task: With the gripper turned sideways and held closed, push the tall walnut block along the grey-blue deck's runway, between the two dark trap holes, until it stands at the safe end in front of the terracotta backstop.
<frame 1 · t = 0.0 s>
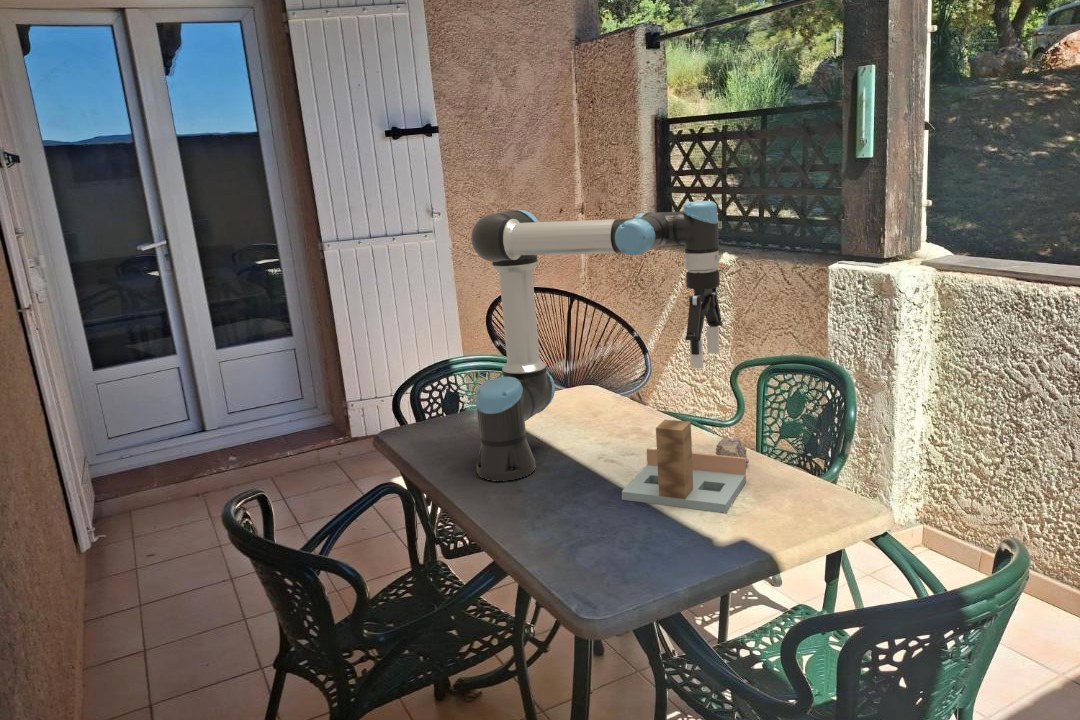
hand: (705, 360, 191), 28 cm above the table, tool pointing down, fingers open, 13 cm apart
mineral specimen: (730, 466, 201), on the table
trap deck: (683, 492, 188), on the table
walnut block: (676, 492, 183), point 2 cm above the table, touching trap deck
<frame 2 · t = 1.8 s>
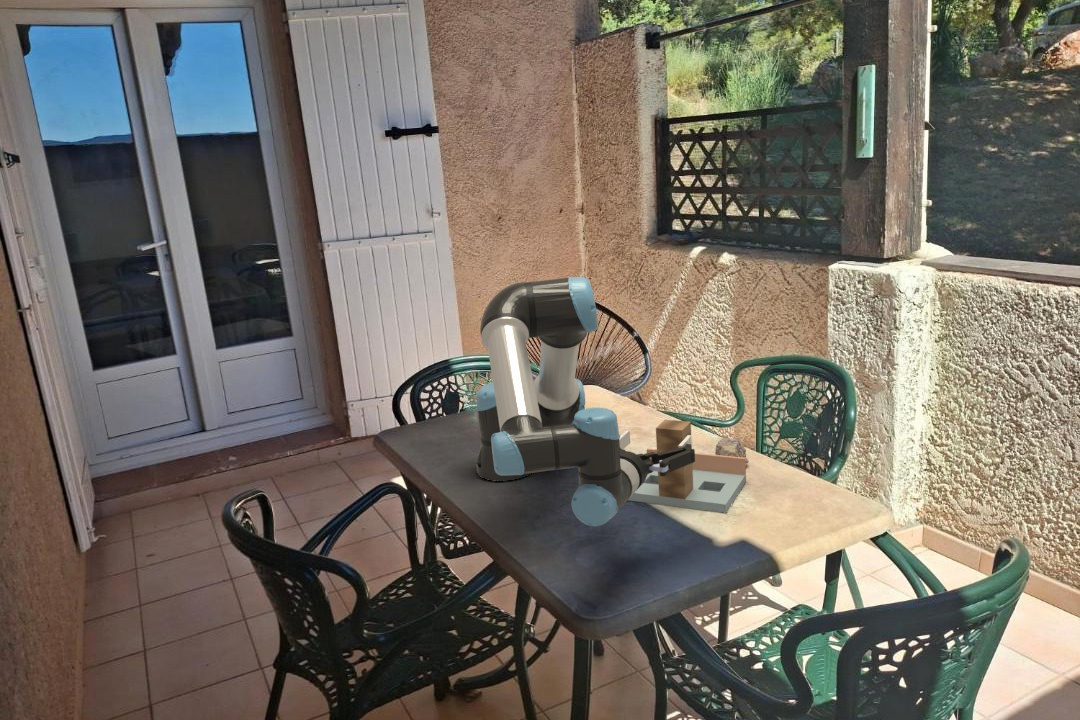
hand: (658, 438, 170), 18 cm above the table, tool horizontal, fingers open, 13 cm apart
nothing on the table moved.
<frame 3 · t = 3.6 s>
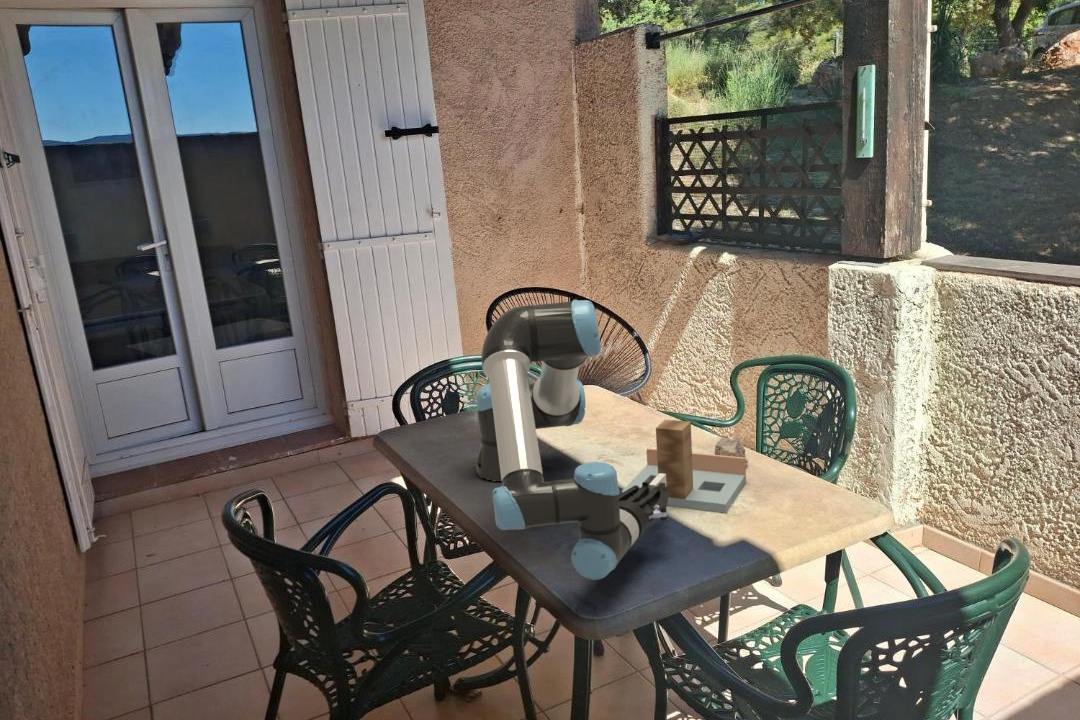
hand: (662, 479, 174), 9 cm above the table, tool horizontal, fingers closed
nothing on the table moved.
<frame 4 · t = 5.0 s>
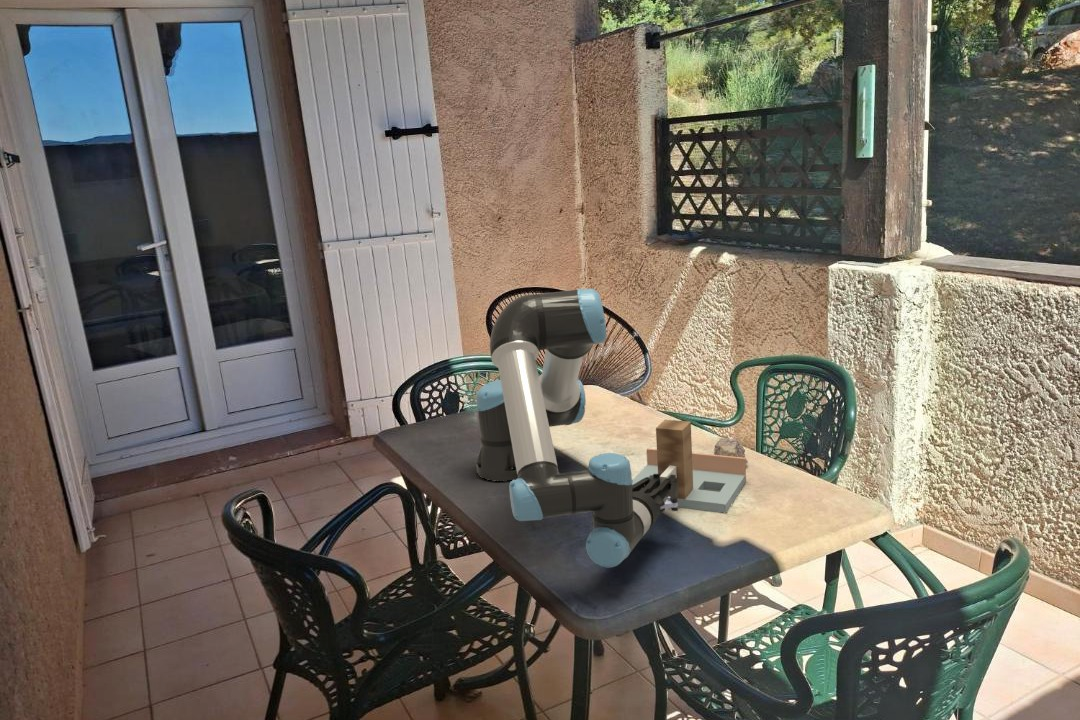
hand: (673, 471, 178), 8 cm above the table, tool horizontal, fingers closed
walnut block: (676, 492, 183), point 2 cm above the table, touching gripper, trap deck
everything else where it was.
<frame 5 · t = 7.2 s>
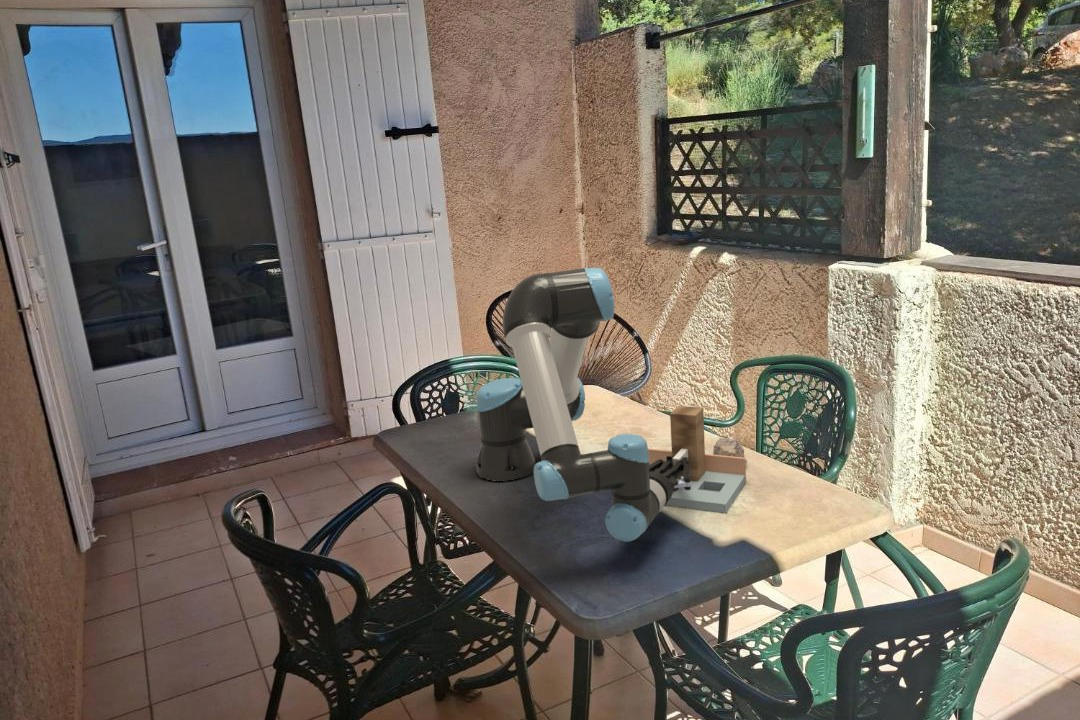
hand: (684, 454, 187), 8 cm above the table, tool horizontal, fingers closed
walnut block: (689, 475, 192), point 2 cm above the table, touching gripper, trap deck
everything else where it was.
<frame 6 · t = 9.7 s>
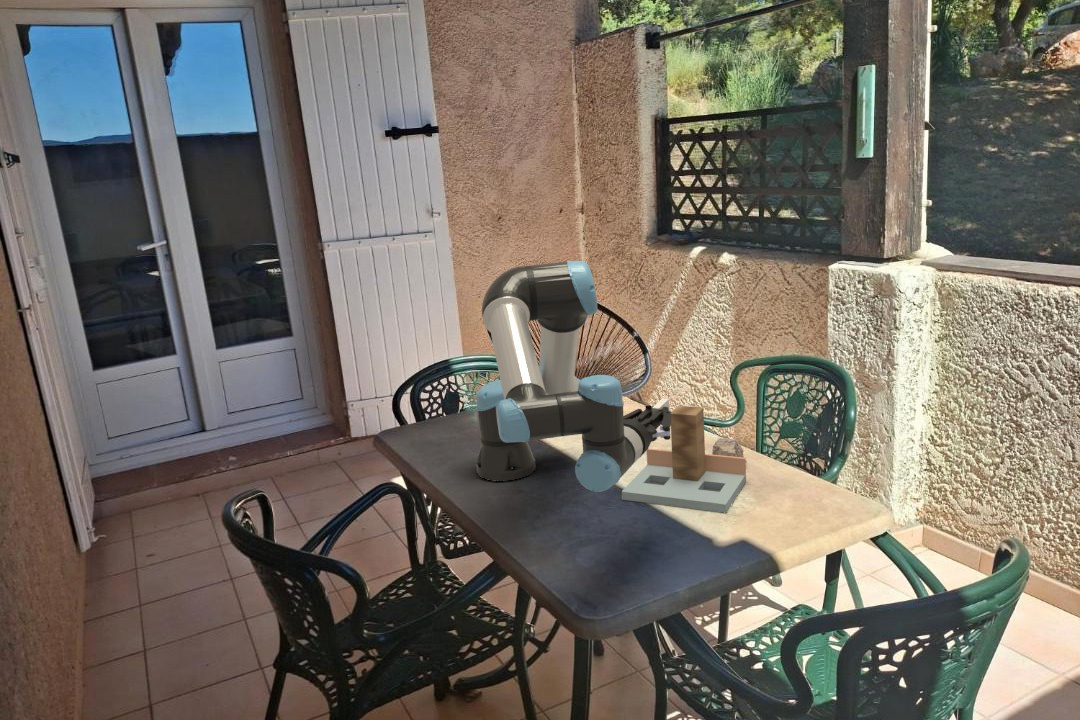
hand: (665, 404, 174), 24 cm above the table, tool horizontal, fingers closed
walnut block: (689, 475, 192), point 2 cm above the table, touching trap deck
everything else where it was.
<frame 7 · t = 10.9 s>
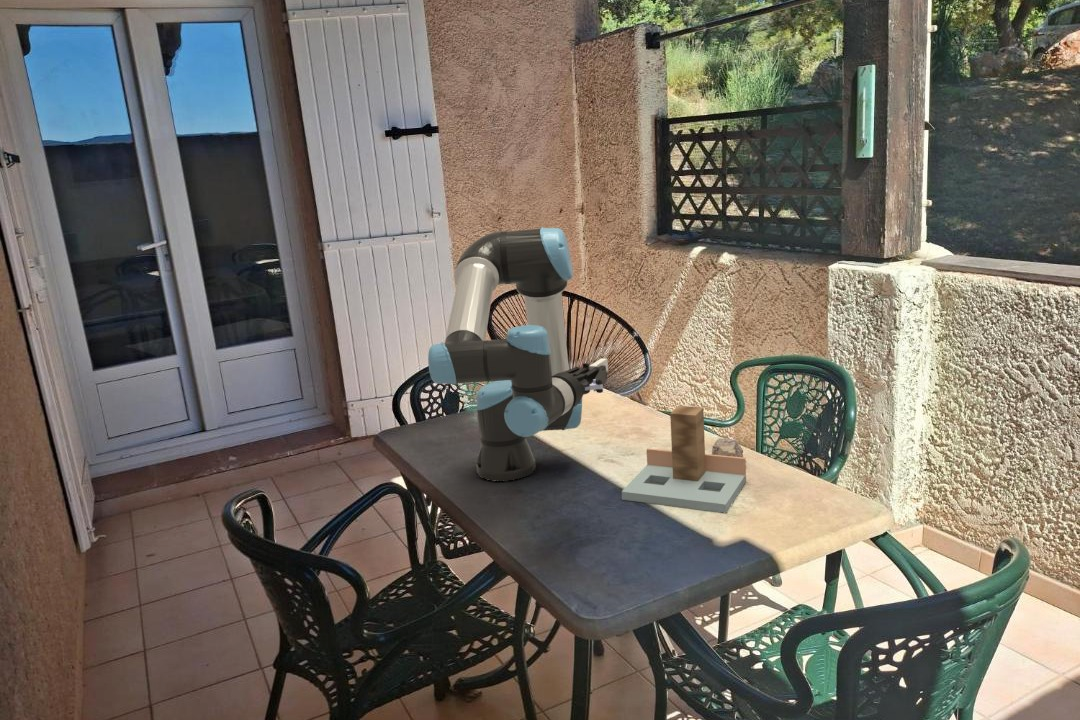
hand: (604, 364, 179), 32 cm above the table, tool horizontal, fingers closed
nothing on the table moved.
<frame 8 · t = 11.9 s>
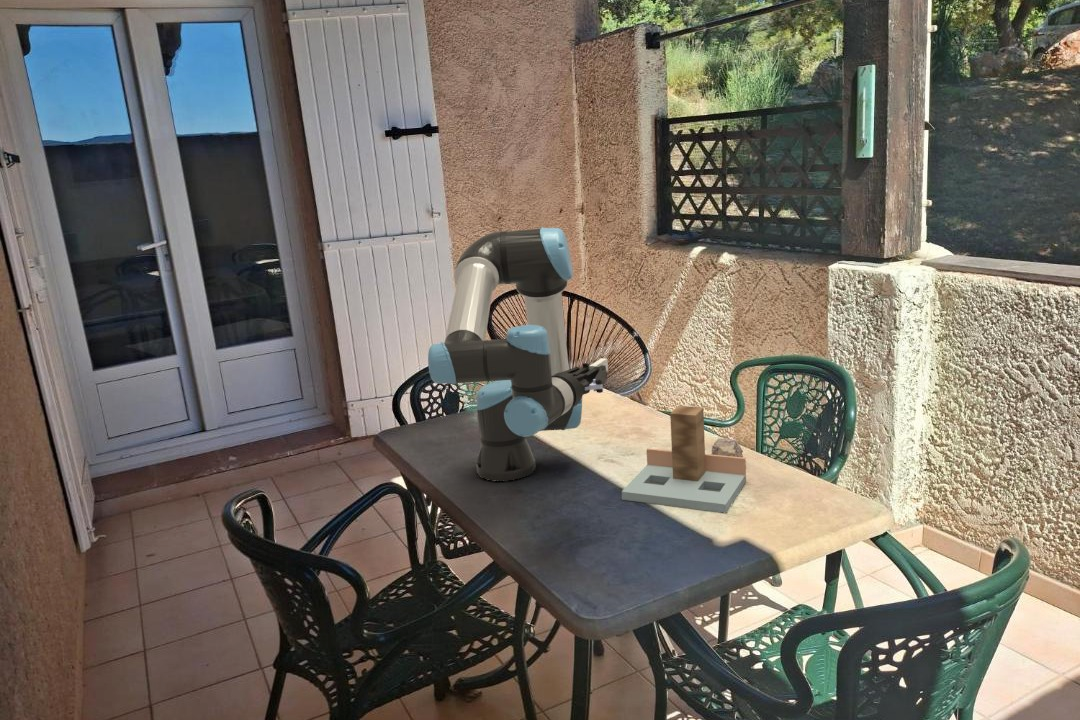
hand: (604, 364, 179), 32 cm above the table, tool horizontal, fingers closed
nothing on the table moved.
at the end: walnut block inside the target area (0.3 cm from its centre), point 2.0 cm above the table; walnut block tilted 0°; walnut block moved 10.4 cm from its start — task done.
